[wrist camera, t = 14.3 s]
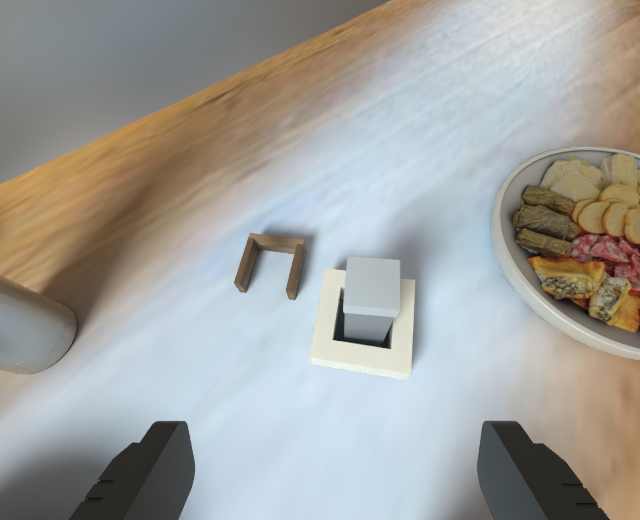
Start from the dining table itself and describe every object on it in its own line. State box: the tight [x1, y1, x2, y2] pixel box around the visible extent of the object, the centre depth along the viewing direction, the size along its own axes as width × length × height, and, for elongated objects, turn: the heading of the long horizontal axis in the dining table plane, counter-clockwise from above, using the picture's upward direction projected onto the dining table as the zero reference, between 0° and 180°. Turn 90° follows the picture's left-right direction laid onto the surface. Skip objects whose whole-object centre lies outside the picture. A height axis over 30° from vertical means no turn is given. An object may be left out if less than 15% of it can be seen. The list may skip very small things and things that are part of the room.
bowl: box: [490, 147, 640, 360], centre depth 41 cm, size 30×30×8 cm
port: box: [309, 268, 415, 380], centre depth 40 cm, size 11×11×5 cm
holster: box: [234, 233, 306, 300], centre depth 45 cm, size 8×8×3 cm
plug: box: [343, 256, 400, 347], centre depth 35 cm, size 5×5×14 cm
